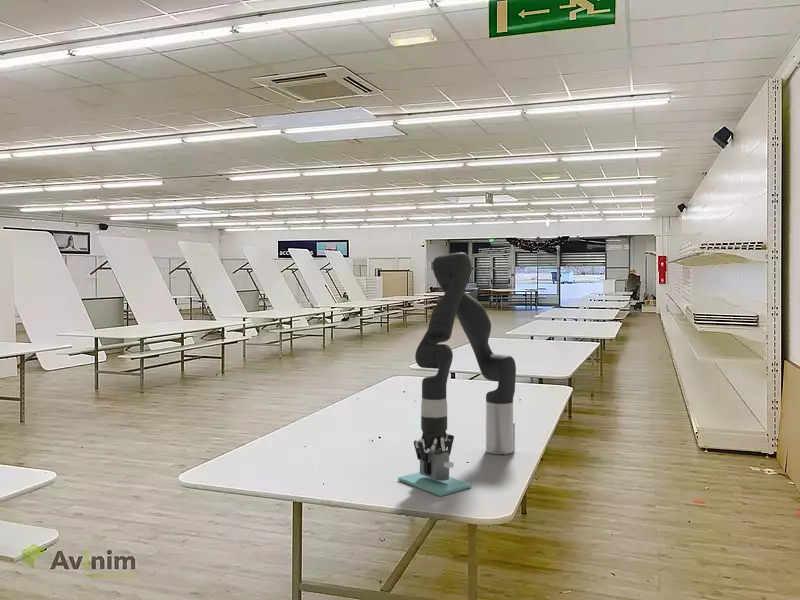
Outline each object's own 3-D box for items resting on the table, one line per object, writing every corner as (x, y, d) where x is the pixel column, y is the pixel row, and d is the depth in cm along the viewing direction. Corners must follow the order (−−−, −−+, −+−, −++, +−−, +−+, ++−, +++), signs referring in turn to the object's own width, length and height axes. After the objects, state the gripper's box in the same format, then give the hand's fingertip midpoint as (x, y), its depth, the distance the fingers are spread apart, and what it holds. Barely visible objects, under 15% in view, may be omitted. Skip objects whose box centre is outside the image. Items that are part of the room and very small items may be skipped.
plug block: (427, 470, 183) (427, 446, 183) (456, 479, 174) (456, 455, 173) (416, 472, 180) (416, 449, 180) (445, 483, 171) (445, 457, 171)
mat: (429, 472, 188) (429, 469, 188) (471, 487, 174) (471, 484, 174) (398, 480, 181) (398, 477, 181) (440, 496, 167) (440, 493, 167)
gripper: (443, 408, 185) (443, 465, 185) (406, 414, 176) (406, 474, 176) (461, 412, 179) (461, 471, 179) (424, 419, 170) (424, 481, 170)
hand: (434, 472), depth 178 cm, fingers closed on plug block, 4 cm apart
